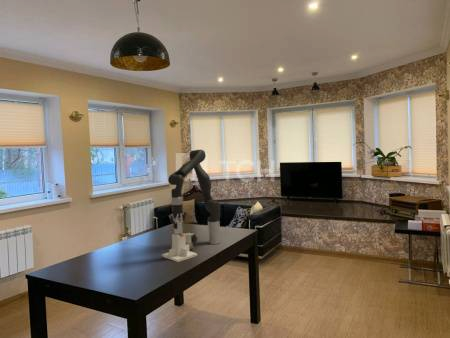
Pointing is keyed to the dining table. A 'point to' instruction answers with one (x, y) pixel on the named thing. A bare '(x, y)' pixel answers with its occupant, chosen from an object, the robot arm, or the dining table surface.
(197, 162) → the robot arm
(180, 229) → the column
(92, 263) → the dining table surface
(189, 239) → the pneumatic valve
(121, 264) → the dining table surface
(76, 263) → the dining table surface
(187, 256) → the stand base
